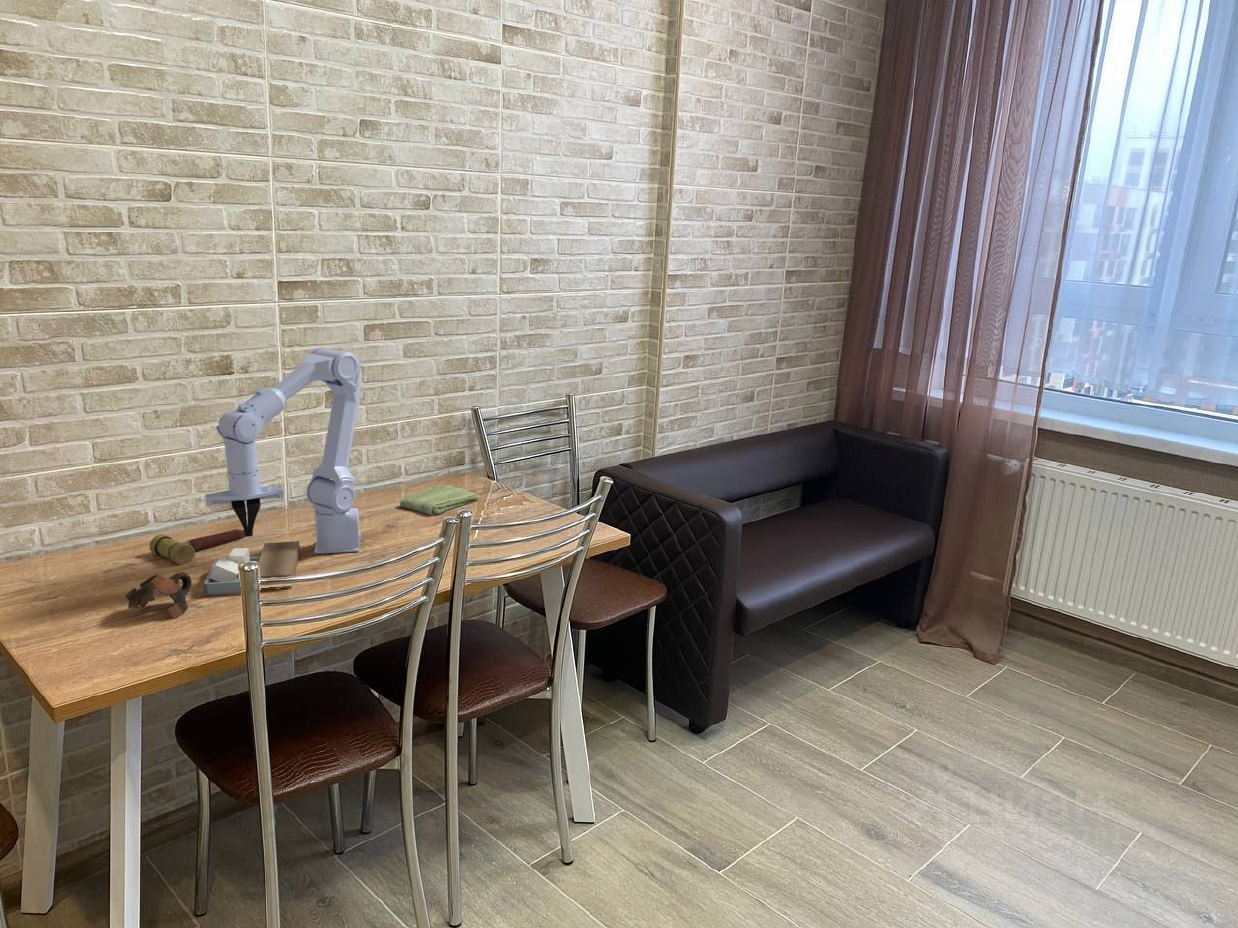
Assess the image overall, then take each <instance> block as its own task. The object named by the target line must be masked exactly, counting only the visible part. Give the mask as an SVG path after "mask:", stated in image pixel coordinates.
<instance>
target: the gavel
mask: <svg viewBox="0 0 1238 928" xmlns="http://www.w3.org/2000/svg"><path fill="white" fill-rule="evenodd" d="M243 538H245V532H244V529H233V530H232V529H231V530H229V531H223V532H219V533H215V534H214V533H213V534H209V535H205V536H201V537H200V536H199V537H195V538H191V539H189V540H186V541H182V542H179V541H177V540H174V539H173V538H172V537H171V536H169V535H166V534H162V533H160V534H157V535H155V536H153V537H152V538H151V540H150V542H149V551H150V552H151V553H152V554H154V555H155V556H158V557H163V558H166V559H169V560H171V562H172V563H174V564H176V565H179V566H181V565H184V564H188V563H191V562H193V560H194V558H195V556H196V551H198V550H199V551H200V550H202V549H206V548H213V547H215V546H220V545H223V544H228V543H232V542H236V541H240V540H242V539H243Z"/></svg>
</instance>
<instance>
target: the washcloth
mask: <svg viewBox="0 0 1238 928" xmlns="http://www.w3.org/2000/svg"><path fill="white" fill-rule="evenodd" d="M479 499H480V496H479V495H477V494H475V493H474V492H472V491H468V490H465V489H464V488H461V487H455V486H452V485H451V484H444V485H436V486H434V487H432V488H429V489H424V490H423V491H421V492H417V493H412V494H410V495H405V496H404V497H403V498H401V500H400V502H399V505H400V507H401V508H405V509H409V510H412V511H417V512H421V513H422V514H426V515H428V516H437V515H440V514H445V513H447V512H449V511H453V510H455V509H458V508H460V507H461V506H464V505H467V504H469V503H474V502H476V501H477V500H479Z"/></svg>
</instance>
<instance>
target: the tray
mask: <svg viewBox="0 0 1238 928" xmlns="http://www.w3.org/2000/svg"><path fill="white" fill-rule="evenodd" d="M226 559H227V560H228V558H226ZM259 559H260V556H251V557H250V561H257V562H259ZM218 560H219V558H216V559H214V561H213V562H212V565H211V567H210V569H209V572H208V574H207V576H206V579H205V580H204V582H203V591H204V593H203V595H204V597H210V596H227V595H240V594H241V587H240V579H239V577H236V579H235V581H229V582H218V581H215V580H213V579H210V578H209V577H210V575H211V573H212V571H213V569H214V567H215V565H216V563H217V562H218Z"/></svg>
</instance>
